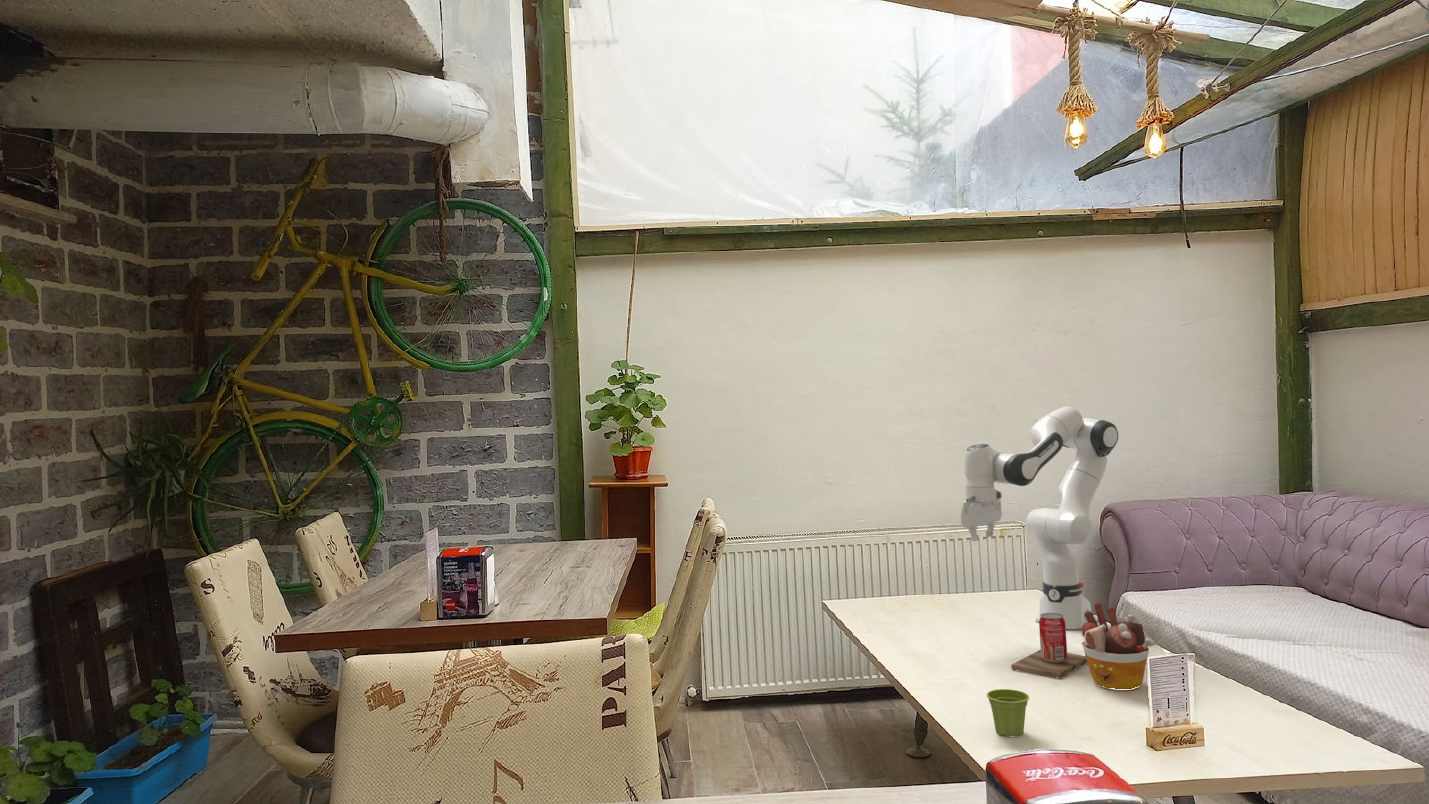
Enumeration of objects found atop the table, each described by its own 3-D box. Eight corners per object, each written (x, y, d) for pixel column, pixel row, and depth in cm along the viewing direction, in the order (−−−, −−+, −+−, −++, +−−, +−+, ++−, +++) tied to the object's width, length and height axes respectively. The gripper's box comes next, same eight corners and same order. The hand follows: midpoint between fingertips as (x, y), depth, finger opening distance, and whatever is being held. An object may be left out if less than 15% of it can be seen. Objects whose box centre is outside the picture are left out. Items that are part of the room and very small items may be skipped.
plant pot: (981, 726, 204) (980, 690, 204) (1020, 723, 205) (1018, 687, 205) (998, 741, 195) (996, 703, 195) (1038, 738, 195) (1036, 700, 195)
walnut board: (1042, 653, 260) (1042, 648, 260) (1089, 661, 250) (1089, 656, 250) (1011, 669, 246) (1011, 664, 246) (1060, 679, 236) (1059, 673, 236)
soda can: (1073, 662, 245) (1070, 616, 245) (1051, 665, 243) (1049, 619, 243) (1056, 655, 252) (1054, 611, 252) (1035, 658, 250) (1033, 613, 250)
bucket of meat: (1166, 695, 220) (1162, 617, 220) (1101, 697, 220) (1097, 619, 220) (1129, 671, 240) (1126, 599, 240) (1070, 673, 240) (1066, 602, 240)
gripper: (973, 499, 265) (975, 544, 265) (1004, 492, 280) (1006, 535, 280) (954, 498, 270) (956, 542, 270) (986, 491, 284) (988, 533, 284)
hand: (982, 538), depth 275 cm, fingers open, 8 cm apart
